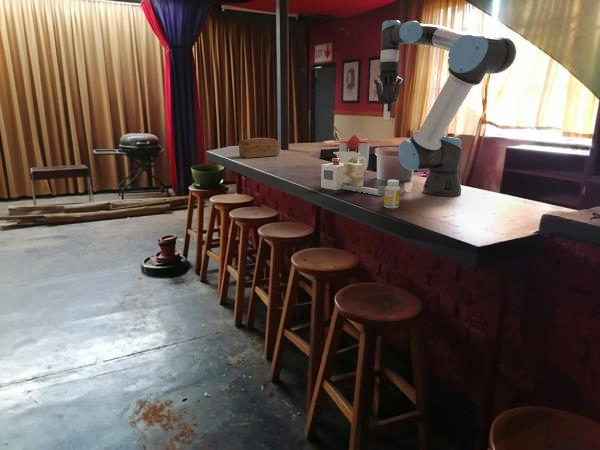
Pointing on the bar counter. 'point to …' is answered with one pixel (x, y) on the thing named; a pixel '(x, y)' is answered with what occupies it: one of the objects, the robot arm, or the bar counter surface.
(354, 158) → the pitcher
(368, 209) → the bar counter surface
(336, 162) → the gauge button
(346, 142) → the citrus juicer
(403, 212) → the bar counter surface
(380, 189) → the rail
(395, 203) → the supplement bottle
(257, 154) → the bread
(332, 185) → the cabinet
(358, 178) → the carriage
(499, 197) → the bar counter surface
